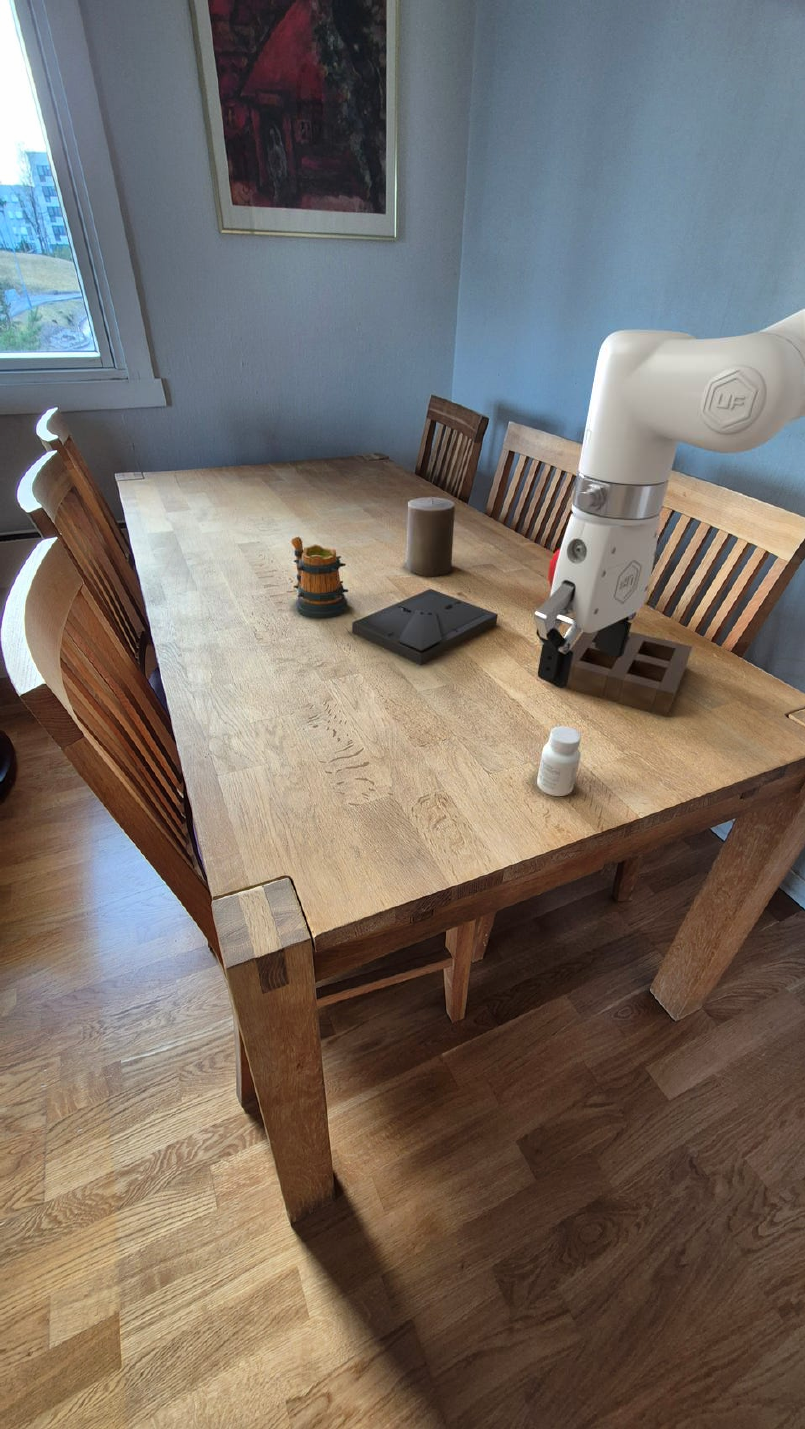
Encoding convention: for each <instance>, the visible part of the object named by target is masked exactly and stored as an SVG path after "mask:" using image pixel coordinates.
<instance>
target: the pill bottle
mask: <svg viewBox="0 0 805 1429" xmlns="http://www.w3.org/2000/svg"><path fill="white" fill-rule="evenodd" d="M581 739H582V736H581V734H580V732H578V730H576V729H575V728H572V727H571V726H561V725H560V726H555V727H554V728H552V729H551V731H550V734H549V737H548V742H546V743H545V744H544V745H543V748H542V752H541V758H540V762H539V768H538V773H537V778H536V783H537V786H538V788H539V789H540V790H541V791H542V792H544V793H546V794H547V795H549V796H551V797H552V796H553V797H563V796H567V795H569V794H571V792H573V789H574V786H575V783H576V779H577V773H578V769H579V766H580V761H581V751H580V749H579V748H580V745H581V744H580V743H581Z"/></svg>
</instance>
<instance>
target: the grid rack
mask: <svg viewBox="0 0 805 1429" xmlns="http://www.w3.org/2000/svg"><path fill="white" fill-rule="evenodd" d="M597 634H598V631H596V632H593V633H587V632H584V631H583V630H582V632H581V634H579V636H578V637H577V638H576V640H575V641H574V643H573V645H572V646H571V648H570V650H571V651H573V652H574V653H573V658H572V663H571V668H570V673H569V677H568V682H567V686H566V687H564V688H563V689H567V690H572V691H575V692H579V693H582V694H585V695H588V696H593V697H596V698H599V699H603V700H607V701H610V702H613V703H616V704H620V705H623V706H627V707H630V708H634V709H637V710H640V711H644V712H647V713H652V714H654V715H657V716H662V717H665V718H668V716H669V713H670V711H671V709H672V705H673V702H674V701H675V697H676V694H677V692H678V689H679V686H680V684H681V681H682V678H683V676H684V673H685V670H686V668H687V665H688V662H689V659H690V655H691V653H692V650H693V646H691V645H688V644H684V643H680V642H676V641H672V640H667V639H664V638H659V637H656V636H651V635H646V634H642V633H640V632H639V633H638V632H635V631H629V635H628V639H627V643H626V647H625V650H624V654H623V656H621V657H619V658H617V657H615V656H613V655H610V654H608V653H606V652H604V651H601V650H599V649H597V648H596V647H595V642H596V638H597Z"/></svg>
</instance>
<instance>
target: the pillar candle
mask: <svg viewBox="0 0 805 1429" xmlns="http://www.w3.org/2000/svg"><path fill="white" fill-rule="evenodd" d="M455 513H456V503H455V502H454V501H452V500H450V499H448V498H447V499H446V498H443V497H442V498H441V497H432V496H430V497H418V498H414V499H411V500H409V501H407V529H406V531H407V532H406V562H405V563H406V564H405V566H406V570H407V571H409V572H410V573H412V574H415V575H419V576H424V577H437V576H438V577H439V576H441V575H446V574H449V572H451V570H452V561H453V546H454V531H455V530H454V528H455V515H456V514H455Z"/></svg>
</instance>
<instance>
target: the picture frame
mask: <svg viewBox="0 0 805 1429" xmlns="http://www.w3.org/2000/svg"><path fill="white" fill-rule="evenodd" d="M498 617H499V616H498V613H495V612H493V611H490V610H488V609H485V608H483V607H479V606H477V605H475V604H472V603H469V602H467V601H463V600H461V599H459V598H456V597H453V596H451V595H449V594H445V593H443V592H440V591H438V590H435V589H433V588H429V589H426V590H424V591H422V592H420V593H418V594H415V595H413V596H410V597H408V598H406V599H403V600H401V601H399V602H396V603H393V604H392V605H389V606H386V607H384V608H382V609H380V610H377V611H375V612H372V613H371V614H368V615H366V616H363V617H361V618H359V619H357V620H354V621H352V622H351V628H352V630H351V631H352V632H351V633H352V634H353V635H356V636H357V637H360V638H362V639H364V640H366V641H368V642H371V643H373V644H375V645H376V646H379V647H380V648H383V649H385V650H387V651H390V652H391V653H394V654H395V655H398V656H399V657H401V658H404V659H406V660H408V661H410V662H412V663H415V664H416V665H419V666H423V665H425V664H426V663H427V662H428V663H429V662H430V661H432V660H434V659H435V658H438V657H440V656H441V655H444V653H446V652H449V651H451V650H452V649H454V648H456V647H458V646H459V645H461V644H463V643H465V642H467V641H469V640H471V639H473V638H475V637H476V636H478V635H480V634H483V633H484V632H486V631H488V630H489V629H491V628H494V627H496V626H497V623H498Z"/></svg>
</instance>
